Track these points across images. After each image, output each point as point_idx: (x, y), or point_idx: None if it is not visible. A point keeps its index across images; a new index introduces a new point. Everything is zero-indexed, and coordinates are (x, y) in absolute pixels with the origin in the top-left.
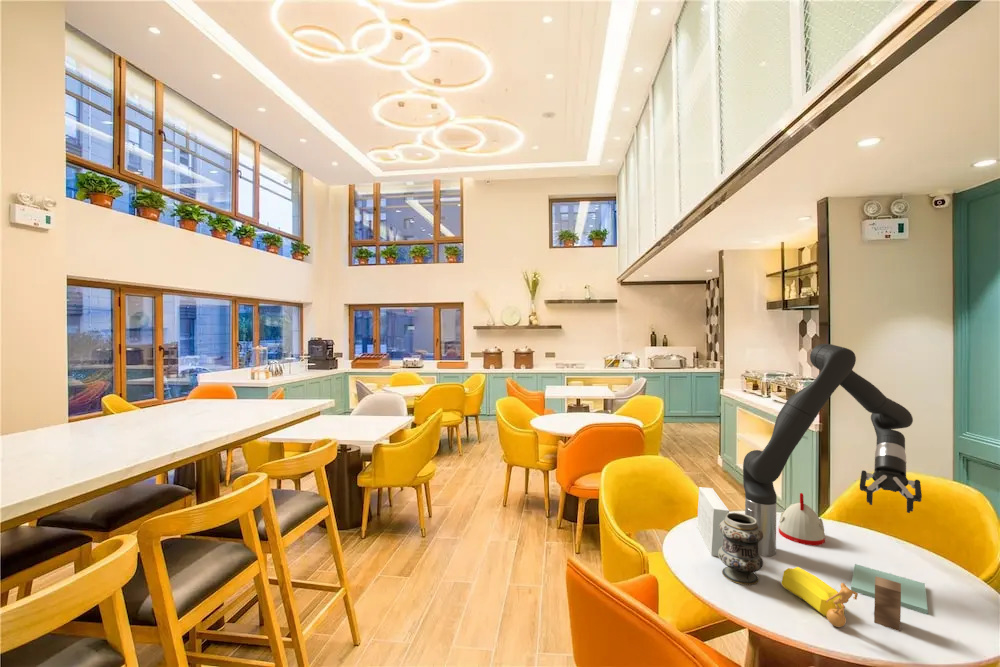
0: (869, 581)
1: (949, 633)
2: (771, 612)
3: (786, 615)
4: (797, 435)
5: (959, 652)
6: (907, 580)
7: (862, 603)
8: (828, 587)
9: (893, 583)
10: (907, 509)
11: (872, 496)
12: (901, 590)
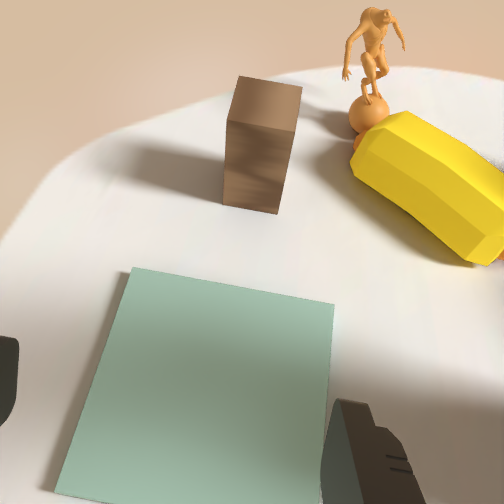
0: (273, 378)
1: (114, 204)
2: (486, 120)
3: (458, 122)
4: None
5: (127, 141)
6: (121, 480)
7: (303, 249)
8: (405, 135)
9: (248, 112)
10: (12, 340)
11: (344, 478)
12: (174, 364)
